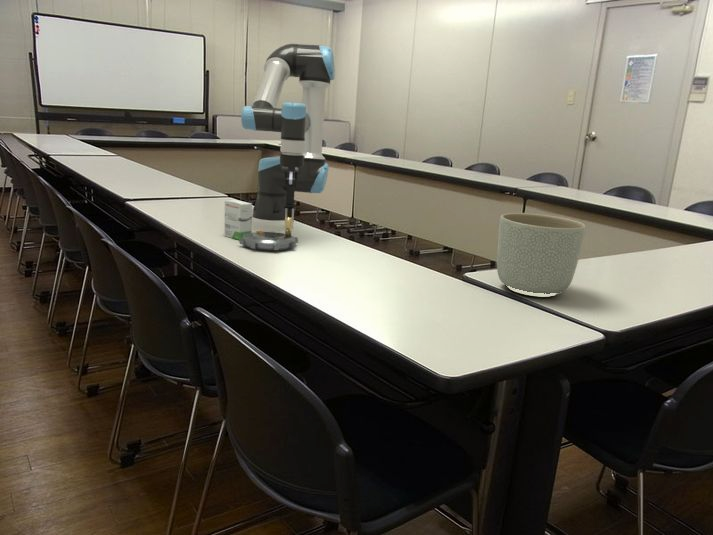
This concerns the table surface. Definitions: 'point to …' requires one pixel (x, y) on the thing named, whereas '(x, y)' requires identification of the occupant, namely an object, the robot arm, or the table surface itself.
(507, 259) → the planter
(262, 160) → the robot arm
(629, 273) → the table surface
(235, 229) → the ink box
